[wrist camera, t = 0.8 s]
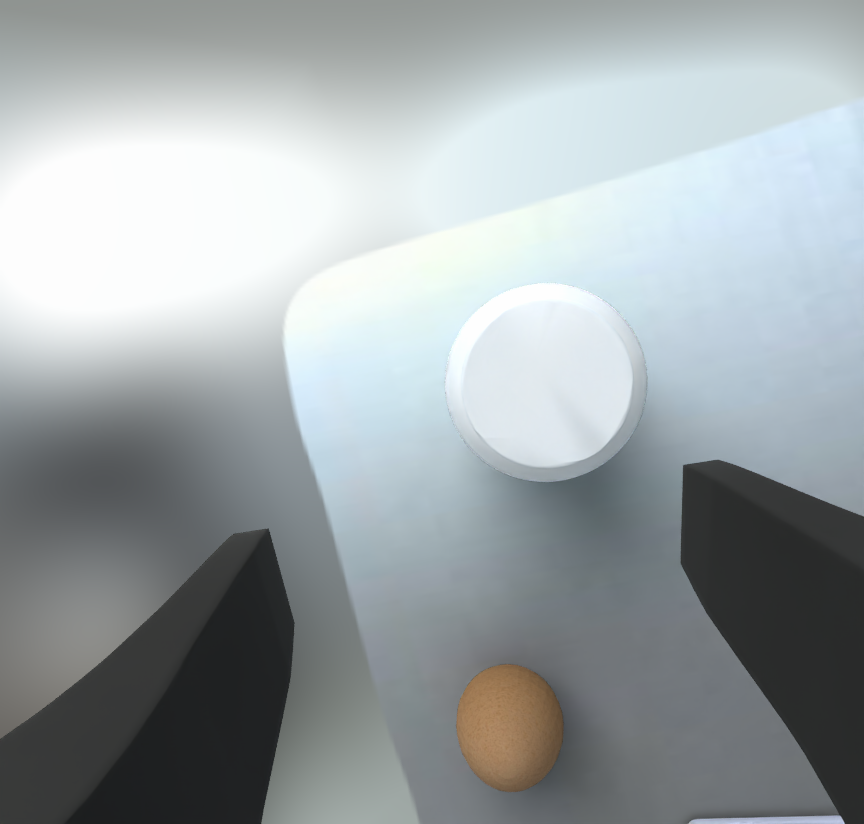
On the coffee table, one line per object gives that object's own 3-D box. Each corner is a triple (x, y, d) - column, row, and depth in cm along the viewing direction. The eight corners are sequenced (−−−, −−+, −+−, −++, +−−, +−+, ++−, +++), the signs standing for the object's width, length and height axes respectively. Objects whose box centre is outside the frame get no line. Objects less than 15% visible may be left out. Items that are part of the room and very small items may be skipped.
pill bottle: (598, 296, 28) (648, 236, 17) (626, 440, 28) (694, 479, 17) (454, 326, 29) (407, 290, 18) (481, 466, 29) (452, 520, 18)
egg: (495, 626, 29) (487, 687, 24) (579, 681, 29) (592, 758, 23) (444, 703, 30) (424, 781, 24) (526, 758, 30) (526, 853, 24)
